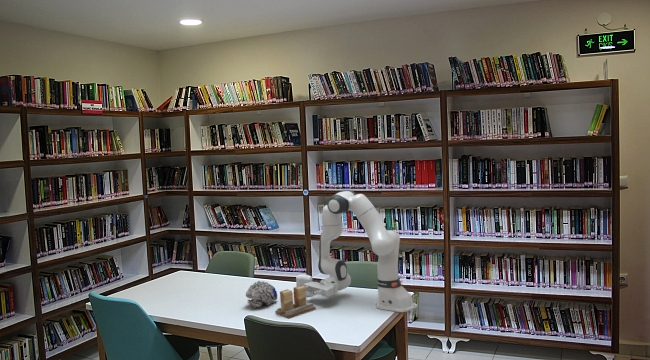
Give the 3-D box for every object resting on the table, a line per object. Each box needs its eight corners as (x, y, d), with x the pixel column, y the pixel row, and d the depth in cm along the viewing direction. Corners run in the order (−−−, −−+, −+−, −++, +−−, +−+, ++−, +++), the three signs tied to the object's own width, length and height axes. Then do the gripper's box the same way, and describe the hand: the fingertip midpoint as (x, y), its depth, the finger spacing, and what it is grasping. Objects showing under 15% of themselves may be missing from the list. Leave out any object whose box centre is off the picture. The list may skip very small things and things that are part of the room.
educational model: (278, 313, 294) (284, 287, 298) (256, 307, 279) (263, 279, 283) (259, 309, 302) (266, 283, 306) (237, 303, 286) (244, 276, 291)
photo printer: (314, 295, 306) (313, 274, 305) (310, 297, 302) (309, 276, 301) (299, 293, 311) (298, 273, 310) (295, 295, 307) (294, 274, 306)
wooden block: (306, 306, 280) (305, 286, 280) (298, 309, 277) (297, 289, 276) (302, 305, 283) (300, 285, 283) (293, 307, 280) (292, 287, 279)
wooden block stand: (315, 309, 279) (314, 286, 278) (289, 318, 268) (287, 294, 267) (301, 305, 288) (300, 283, 287) (275, 313, 277) (273, 290, 276)
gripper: (314, 277, 300) (295, 283, 291) (338, 283, 285) (319, 289, 275) (315, 288, 300) (296, 294, 291) (339, 294, 285) (320, 301, 276)
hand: (308, 292), depth 283 cm, fingers open, 8 cm apart
